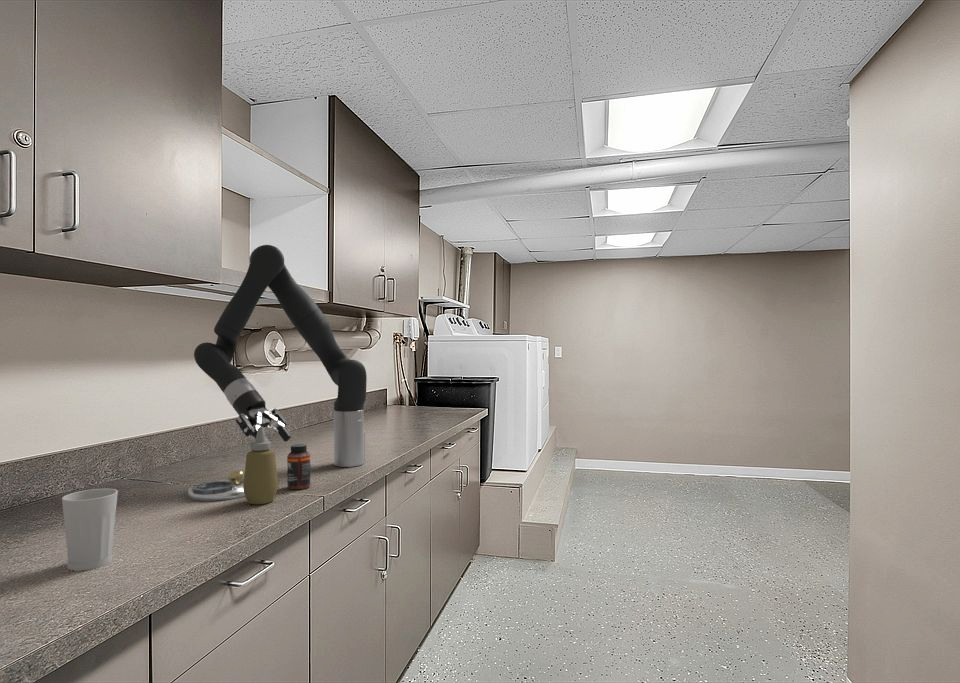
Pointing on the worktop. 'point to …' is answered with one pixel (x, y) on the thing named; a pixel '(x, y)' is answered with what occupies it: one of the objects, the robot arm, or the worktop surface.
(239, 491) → the carrier disc
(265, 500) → the squeeze bottle
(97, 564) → the cup
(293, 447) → the supplement bottle
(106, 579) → the worktop surface
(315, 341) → the robot arm
